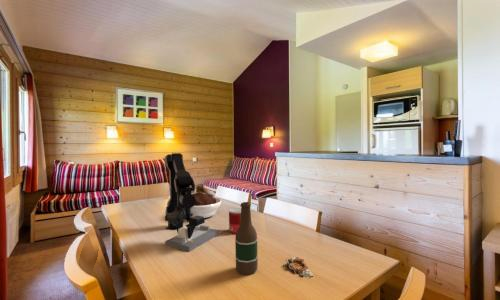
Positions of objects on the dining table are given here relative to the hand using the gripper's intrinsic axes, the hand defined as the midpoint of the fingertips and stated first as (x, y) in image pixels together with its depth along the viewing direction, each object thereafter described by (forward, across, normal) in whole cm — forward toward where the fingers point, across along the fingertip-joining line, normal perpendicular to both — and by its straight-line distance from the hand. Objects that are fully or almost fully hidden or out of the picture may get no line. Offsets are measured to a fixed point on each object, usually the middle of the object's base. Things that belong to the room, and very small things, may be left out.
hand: (184, 237), depth 114 cm
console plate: (+3, 0, +6) cm, 7 cm away
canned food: (+3, +13, +24) cm, 27 cm away
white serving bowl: (+3, -21, +38) cm, 44 cm away
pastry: (+4, +53, +1) cm, 53 cm away
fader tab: (+1, 0, 0) cm, 1 cm away
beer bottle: (+3, +36, -8) cm, 37 cm away
